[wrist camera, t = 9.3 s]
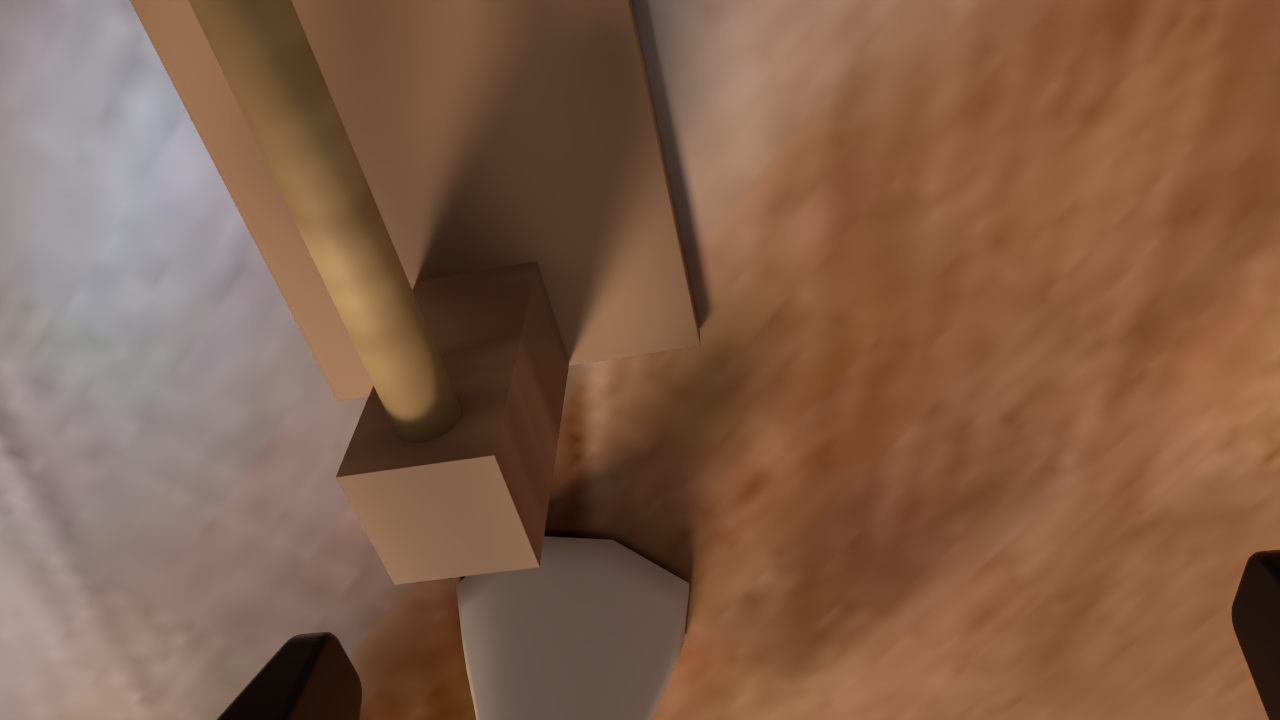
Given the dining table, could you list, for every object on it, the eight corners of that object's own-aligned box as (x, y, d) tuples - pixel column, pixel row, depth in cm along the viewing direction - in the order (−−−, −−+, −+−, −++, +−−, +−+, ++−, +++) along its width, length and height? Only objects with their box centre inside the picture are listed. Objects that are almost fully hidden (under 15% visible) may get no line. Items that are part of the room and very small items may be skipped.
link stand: (503, -614, 13) (379, -816, 7) (699, 330, 22) (709, 550, 17) (-71, -436, 14) (-539, -494, 9) (343, 386, 23) (244, 606, 18)
